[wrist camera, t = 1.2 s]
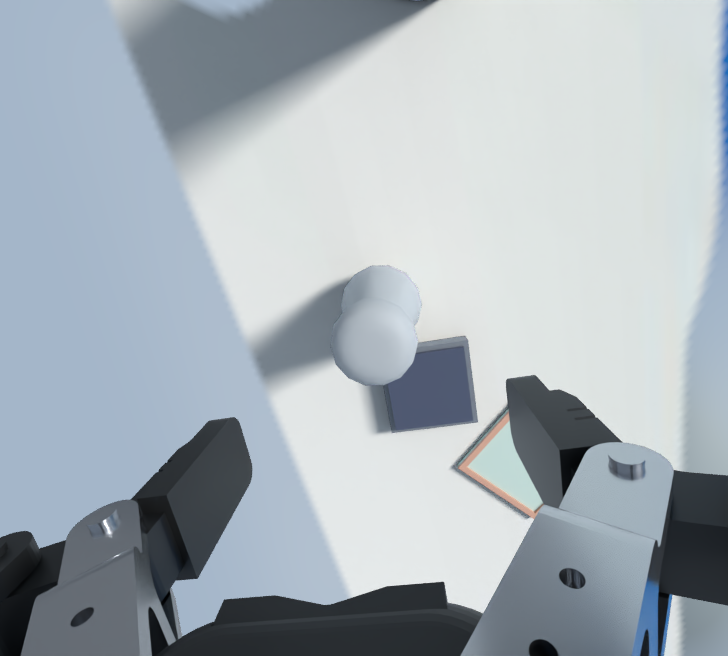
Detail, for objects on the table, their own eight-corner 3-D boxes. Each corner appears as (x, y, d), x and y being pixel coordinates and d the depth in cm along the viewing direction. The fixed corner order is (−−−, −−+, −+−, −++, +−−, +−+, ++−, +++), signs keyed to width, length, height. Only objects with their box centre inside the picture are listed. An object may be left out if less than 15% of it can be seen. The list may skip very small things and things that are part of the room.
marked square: (457, 464, 34) (458, 468, 33) (522, 392, 32) (524, 394, 31) (533, 516, 35) (535, 520, 34) (602, 448, 32) (606, 451, 32)
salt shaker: (431, 280, 30) (458, 320, 17) (400, 345, 32) (404, 425, 19) (362, 249, 30) (338, 268, 17) (334, 316, 31) (294, 377, 19)
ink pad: (378, 348, 32) (377, 355, 30) (465, 335, 31) (468, 341, 29) (392, 425, 33) (392, 435, 32) (475, 415, 33) (479, 424, 31)
